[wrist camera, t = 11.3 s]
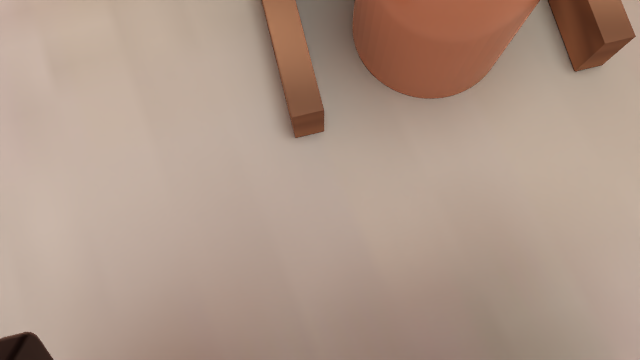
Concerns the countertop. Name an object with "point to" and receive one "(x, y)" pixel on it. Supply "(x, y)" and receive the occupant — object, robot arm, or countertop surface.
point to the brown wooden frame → (566, 3)
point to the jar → (435, 41)
